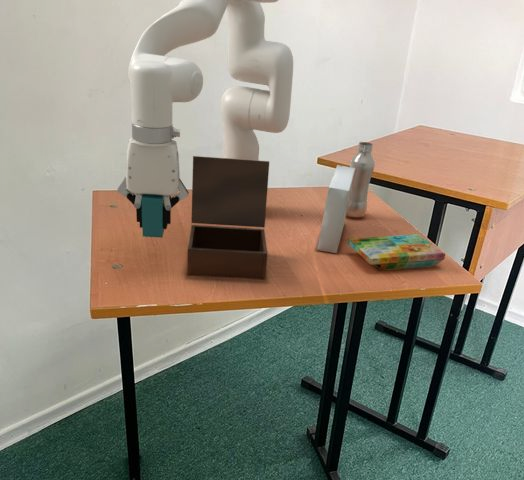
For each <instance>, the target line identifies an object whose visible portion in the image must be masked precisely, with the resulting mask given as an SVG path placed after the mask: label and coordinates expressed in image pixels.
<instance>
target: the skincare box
mask: <svg viewBox="0 0 524 480" xmlns="http://www.w3.org/2000/svg"><path fill="white" fill-rule="evenodd" d="M354 172H355V168H352V167H350V166H345V165H341V164H340V165H339V164H337V165H336V167H335V170H334V173H333V175H332V177H331V180H330V183H329V186H328V188H327V194H326V199H325V205H324V209H323V210H324V211H323V217H322V222H321V227H320V233H319V238H318V243H317V247H316V250H317V251H321V252H327V253H333V254H338V251H339V250H338V249H339V246H340V241H341V238H342V234H343V230H344V226H345V223H346V218H347V215H346V214H347V209H348V204H349V199H350V194H351V189H352V184H353V178H354Z"/></svg>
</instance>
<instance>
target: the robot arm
mask: <svg viewBox="0 0 524 480" xmlns="http://www.w3.org/2000/svg"><path fill="white" fill-rule="evenodd" d="M278 1H279V0H180V2H179V3H178V5H177V6H176V7H174V8H172V9H170V10H169V11H167V12H166V13H164V14H163V15H161V16H160V17H159V18H158V19H157V20H155V21H154V22H152V23H151V24H150V25H148V26H147V28H146V29H144V31H143V32H142V34H141V35H140V37H139V39H138V41H137V44H136V46H135V47H134V50H133V52H132V55H131V57H130V60H129V64H128V68H127V69H128V72H127V78H128V82H129V86H130V88H129V89H130V113H131V137H130V138H129V139H128V143H127V152H126V168H125V169H126V172H125V176H124V178H123V180H122V182H120V184H119V186H118V187H117V189H116V190H117V192H118V193H119V194H121V195H122V196H124V198H126V199H127V200H128V201H129V202H130V203H131V204H132V205H133V206H134V208H135V209H136V210H135V211H136V212H135V213H136V223H139V228H140V229H141V228H142V196H143V194H149V195H163V199H164V204H165V205H164V209H163V228H164V229H165V230H167V229H168V225H171V223H172V214H171V213H172V208H173V207H175V206H176V205H177V204H178V203H179V202H181V201H182V200H184V199H186V198H187V197H189V190H188V189H187V188H186V186H185V184H184V183H183V181H182V179H181V178H180V157H179V150H178V143H177V141H176V140H174V138H180V137H181V129H177V128H175V127H174V124H173V103H190V102H192V101H194V100H195V99H197V98H198V96H200V94H201V93H202V90H203V86H204V76H203V72H202V70H201V68H200V66H198V64H196V63H195V62H194V61H192V60H190V59H186V58H179V57H172V56H168V55H167V54H168V53H170V52H171V51H174V50H175V49H177V48H180V47H184V46H188V45H191V44H195V43H198V42H201V41H204V40H206V39H209V38H211V37H212V36H213V35H215V34H216V33H217V31H218V29H219V27H220V24H221V22H222V20H223V17H224V15H225V12H226V15H227V25H228V26H227V27H228V30H227V34H228V35H227V69H228V74H229V75H230V77H231V78H232V79H233V80H236V81H239V82H243V83H250V84H255V85H261V86H262V85H263V86H267V87H268V89H269V90H267V89H260V88H255V87H248V86H240V85H239V86H238V85H237V86H231V87H229V88H228V89H226V90H225V91H224V93H223V94H222V96H221V100H220V113H221V120H222V132H223V133H222V134H223V135H222V137H223V138H222V145H223V146H222V158H230V159H244V160H258V161H259V159H260V157H259V156H260V144H259V140H258V138H257V135H256V134H255V131H259V132H266V133H272V134H280V133H282V132H283V131H285V130H286V129H287V127H288V125H289V120H290V115H291V103H292V90H293V78H294V57H293V52H292V50H291V47H289V46H288V45H287V44H286V43H283V42H278V41H271V40H266V37H265V24H266V23H265V21H266V16H265V12H264V8H263V6H262V4H267V3H268V4H269V3H277V2H278ZM261 3H262V4H261ZM166 55H167V56H166Z"/></svg>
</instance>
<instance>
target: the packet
mask: <svg viewBox="0 0 524 480" xmlns="http://www.w3.org/2000/svg"><path fill="white" fill-rule="evenodd" d="M164 205H165V204H164V199H163V195H149V194H143V196H142V237H144V238H161V239H163V237H164V234H165V231H166V229H164V228H163V209H164Z"/></svg>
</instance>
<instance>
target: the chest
mask: <svg viewBox="0 0 524 480" xmlns="http://www.w3.org/2000/svg"><path fill="white" fill-rule="evenodd" d="M265 231H266V230H265V229H264V228H254V227H237V226H221V225H204V224H203V225H202V224H200V225H199V224H191V225H190V231H189V238H188V245H187V276H193V277H195V276H198V277H215V278H232V279H233V278H234V279H252V280H266V276H267V275H266V274H267V264H268V246H267V241H266V240H267V238H266V232H265Z"/></svg>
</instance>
